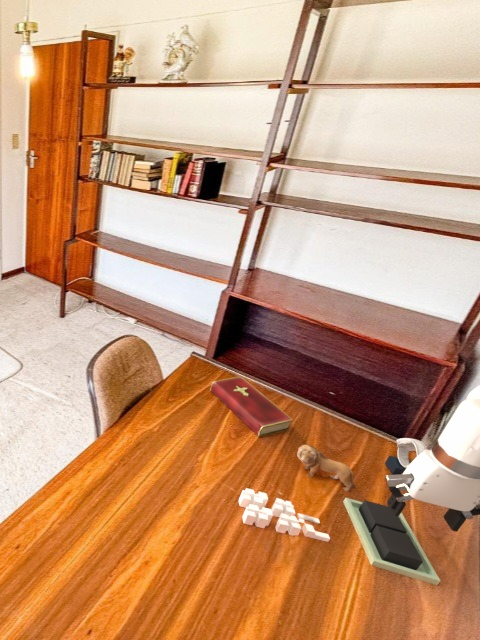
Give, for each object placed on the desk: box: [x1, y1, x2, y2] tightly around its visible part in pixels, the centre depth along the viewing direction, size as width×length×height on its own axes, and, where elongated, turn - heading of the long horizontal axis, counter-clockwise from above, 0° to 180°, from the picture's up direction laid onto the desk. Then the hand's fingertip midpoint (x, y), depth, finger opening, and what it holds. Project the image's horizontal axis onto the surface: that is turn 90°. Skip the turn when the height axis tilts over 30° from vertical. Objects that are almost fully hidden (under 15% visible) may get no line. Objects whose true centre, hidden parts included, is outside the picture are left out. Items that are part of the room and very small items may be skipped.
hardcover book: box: [209, 375, 294, 438], centre depth 126 cm, size 12×21×4 cm, turn 16°
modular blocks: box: [238, 487, 331, 543], centre depth 92 cm, size 20×7×4 cm, turn 75°
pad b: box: [370, 526, 423, 570], centre depth 86 cm, size 6×6×4 cm
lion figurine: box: [296, 444, 356, 493], centre depth 103 cm, size 15×5×9 cm, turn 69°
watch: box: [384, 437, 428, 475], centre depth 105 cm, size 6×8×11 cm
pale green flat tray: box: [343, 497, 441, 586], centre depth 90 cm, size 12×16×2 cm
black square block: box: [359, 499, 407, 534], centre depth 92 cm, size 6×6×4 cm
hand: (420, 517), depth 82 cm, fingers open, 9 cm apart
